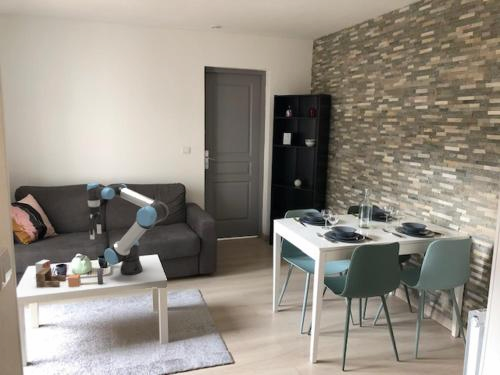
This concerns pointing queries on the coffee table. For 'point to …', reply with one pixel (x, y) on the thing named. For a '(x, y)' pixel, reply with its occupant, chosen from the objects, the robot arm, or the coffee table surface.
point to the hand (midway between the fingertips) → (96, 236)
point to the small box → (42, 265)
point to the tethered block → (76, 281)
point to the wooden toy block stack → (48, 278)
